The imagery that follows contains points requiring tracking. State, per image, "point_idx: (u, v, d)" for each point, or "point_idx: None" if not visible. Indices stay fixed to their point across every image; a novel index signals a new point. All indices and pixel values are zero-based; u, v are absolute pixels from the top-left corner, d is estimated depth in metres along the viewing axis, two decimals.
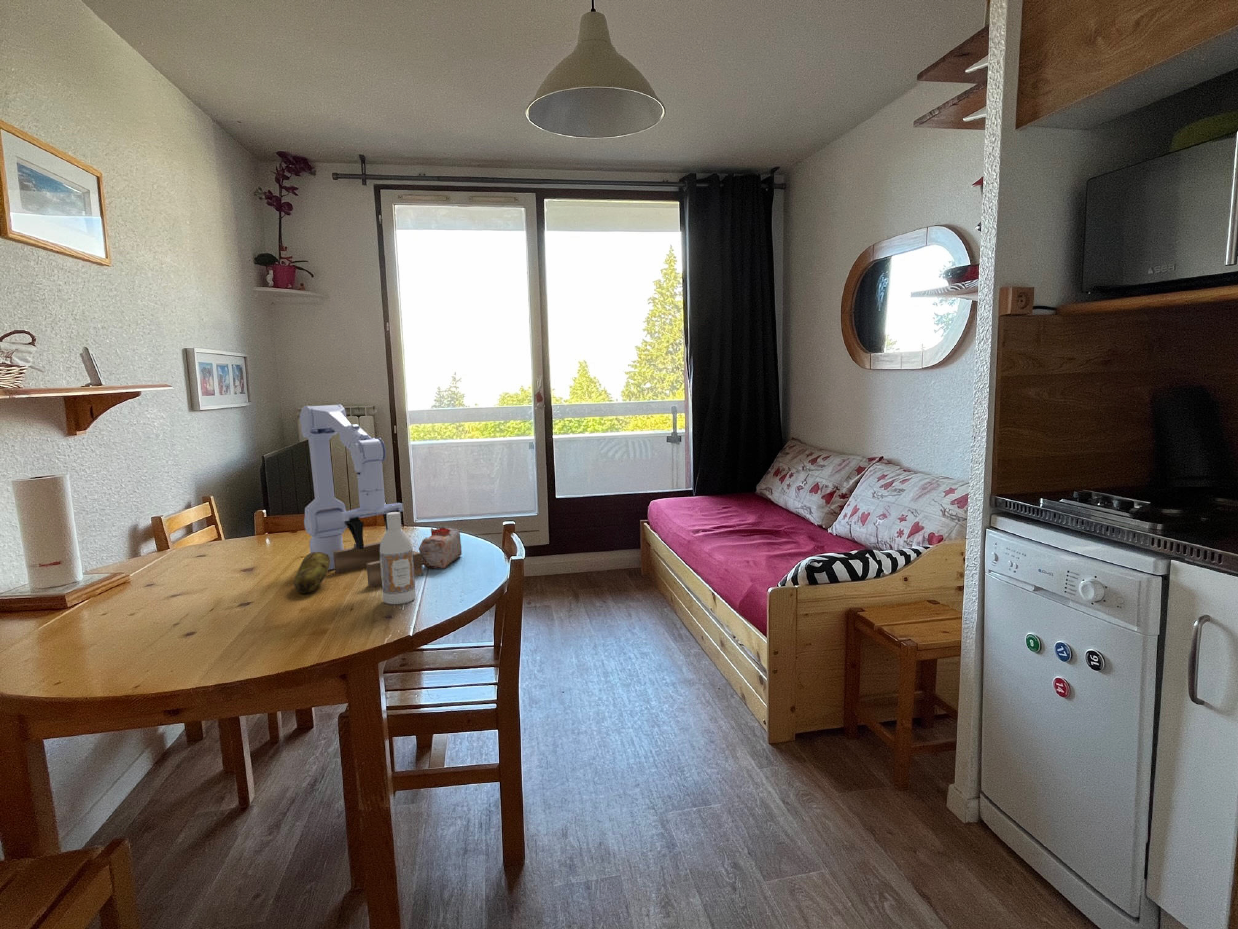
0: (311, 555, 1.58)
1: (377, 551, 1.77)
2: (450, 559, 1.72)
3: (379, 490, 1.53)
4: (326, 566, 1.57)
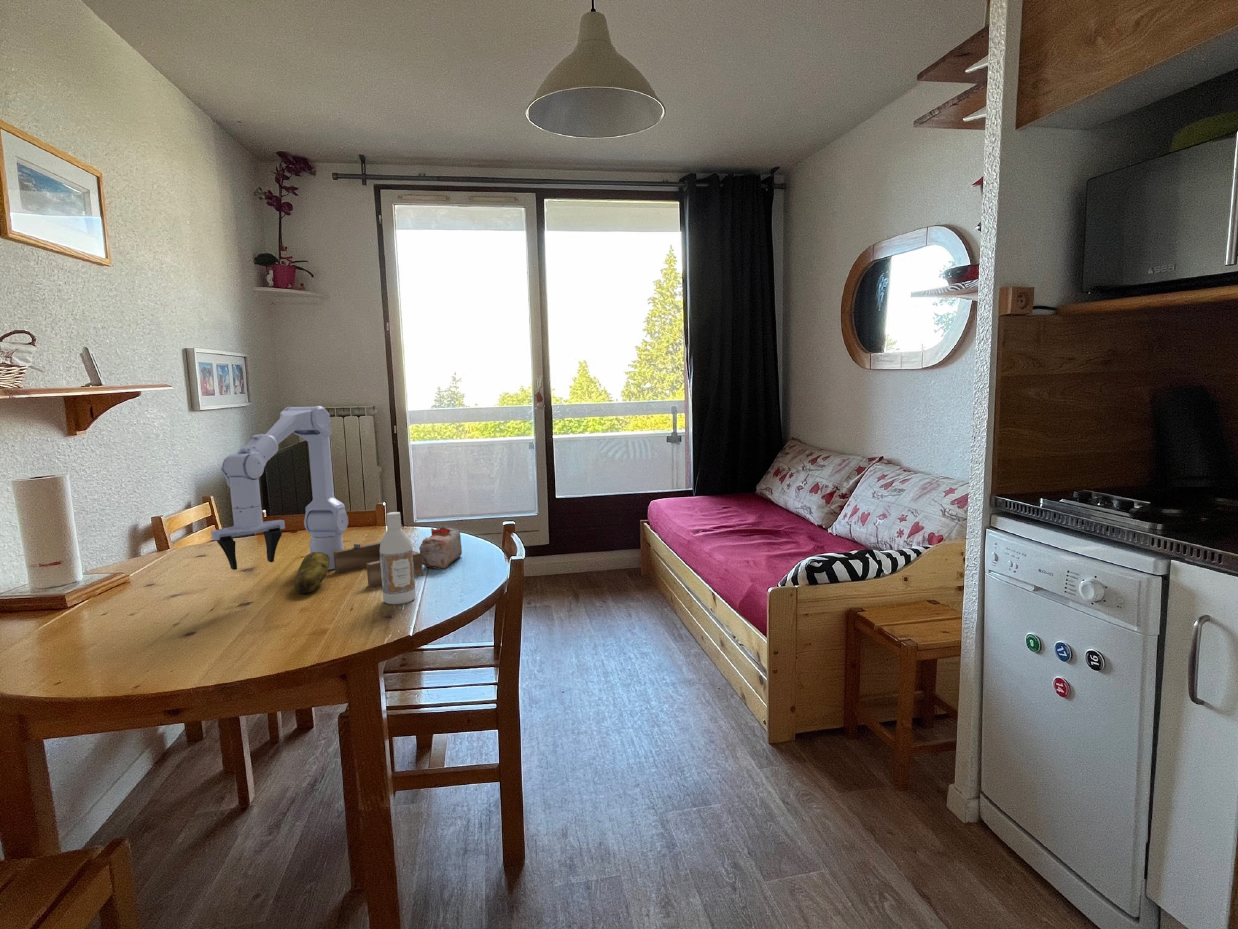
0: (311, 555, 1.58)
1: (377, 551, 1.77)
2: (450, 559, 1.73)
3: (254, 507, 1.44)
4: (326, 566, 1.57)
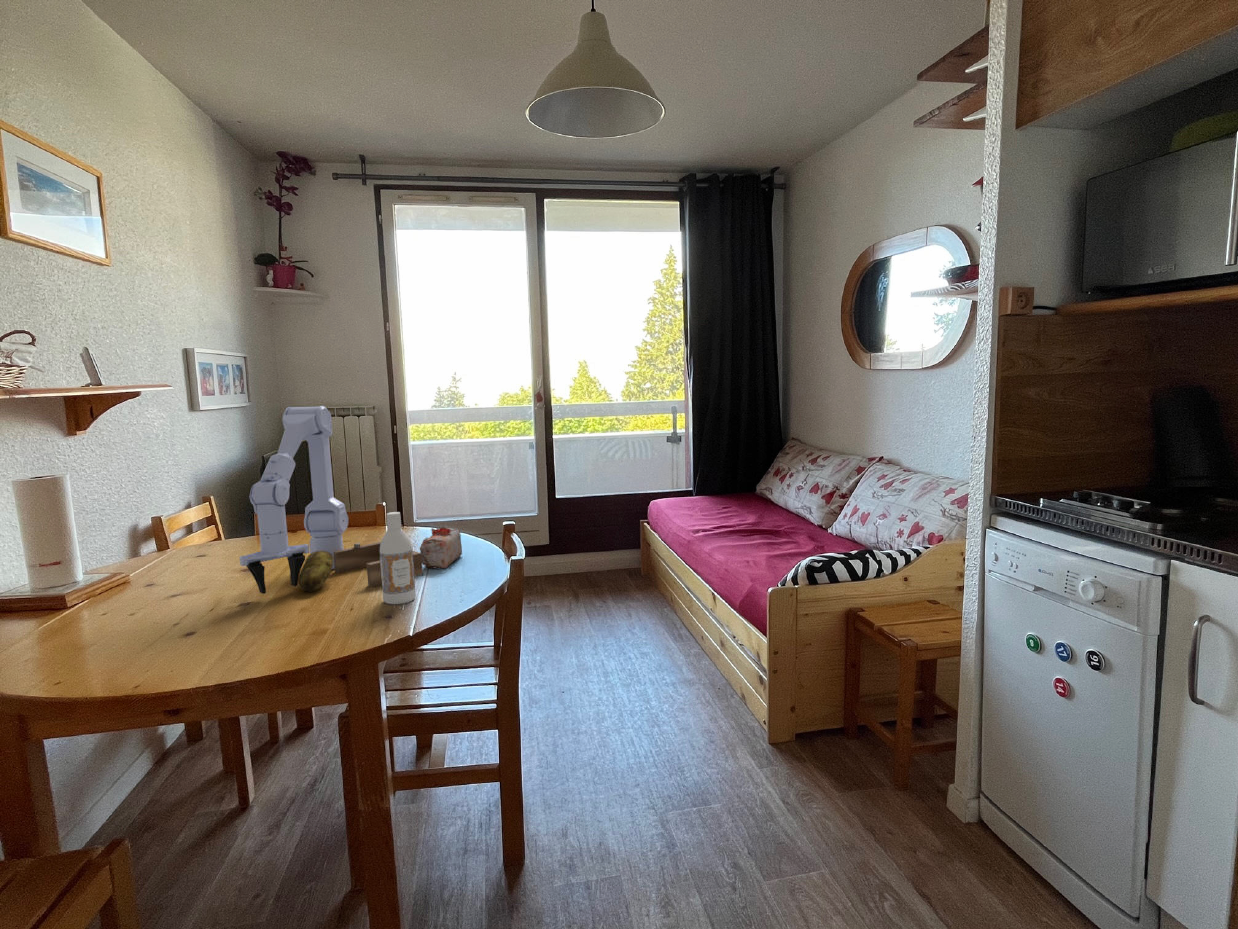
0: (315, 554, 1.59)
1: (377, 551, 1.77)
2: (451, 559, 1.73)
3: (280, 533, 1.48)
4: (330, 565, 1.58)
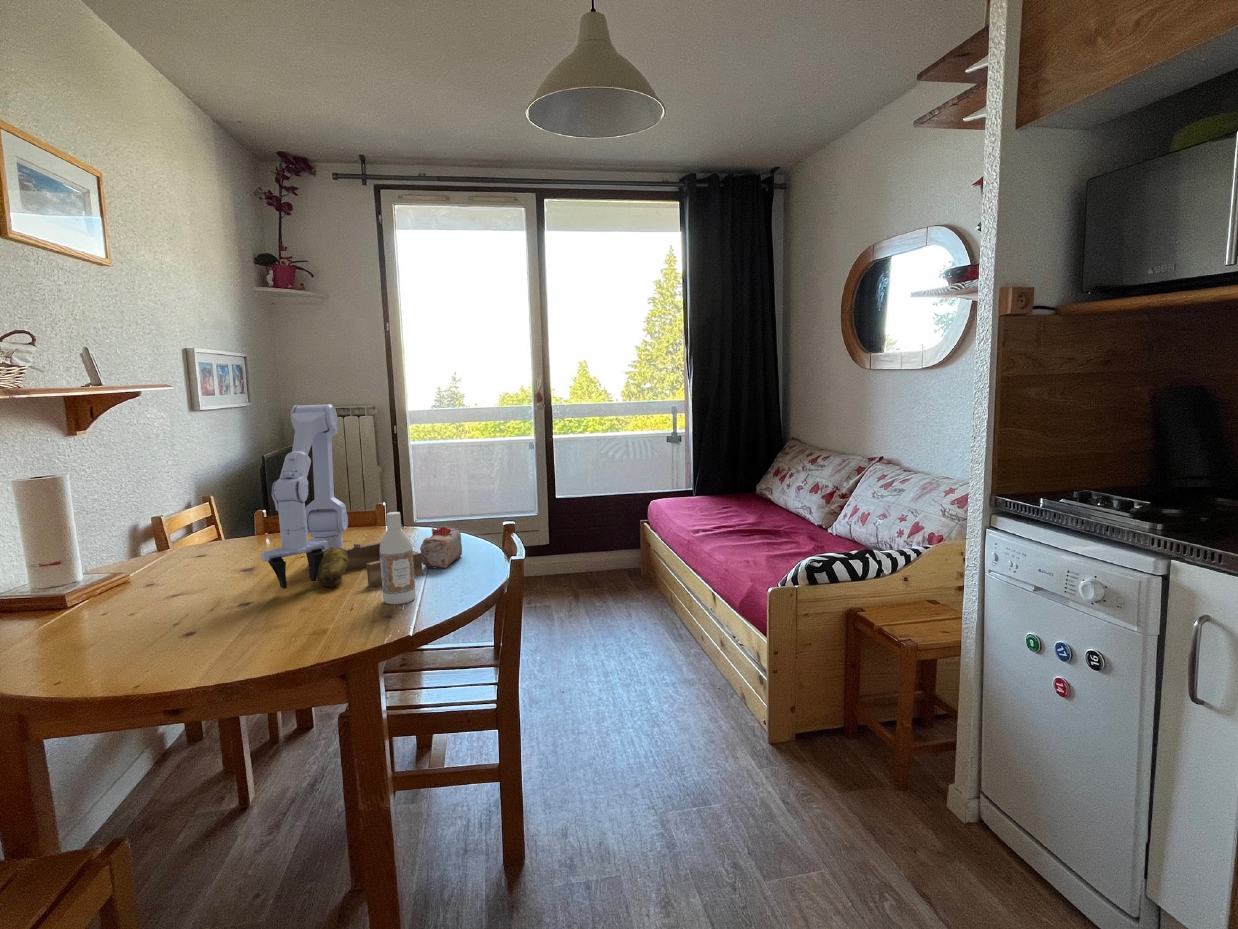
0: (331, 550, 1.62)
1: (377, 551, 1.77)
2: (451, 559, 1.73)
3: (301, 529, 1.52)
4: (347, 560, 1.62)
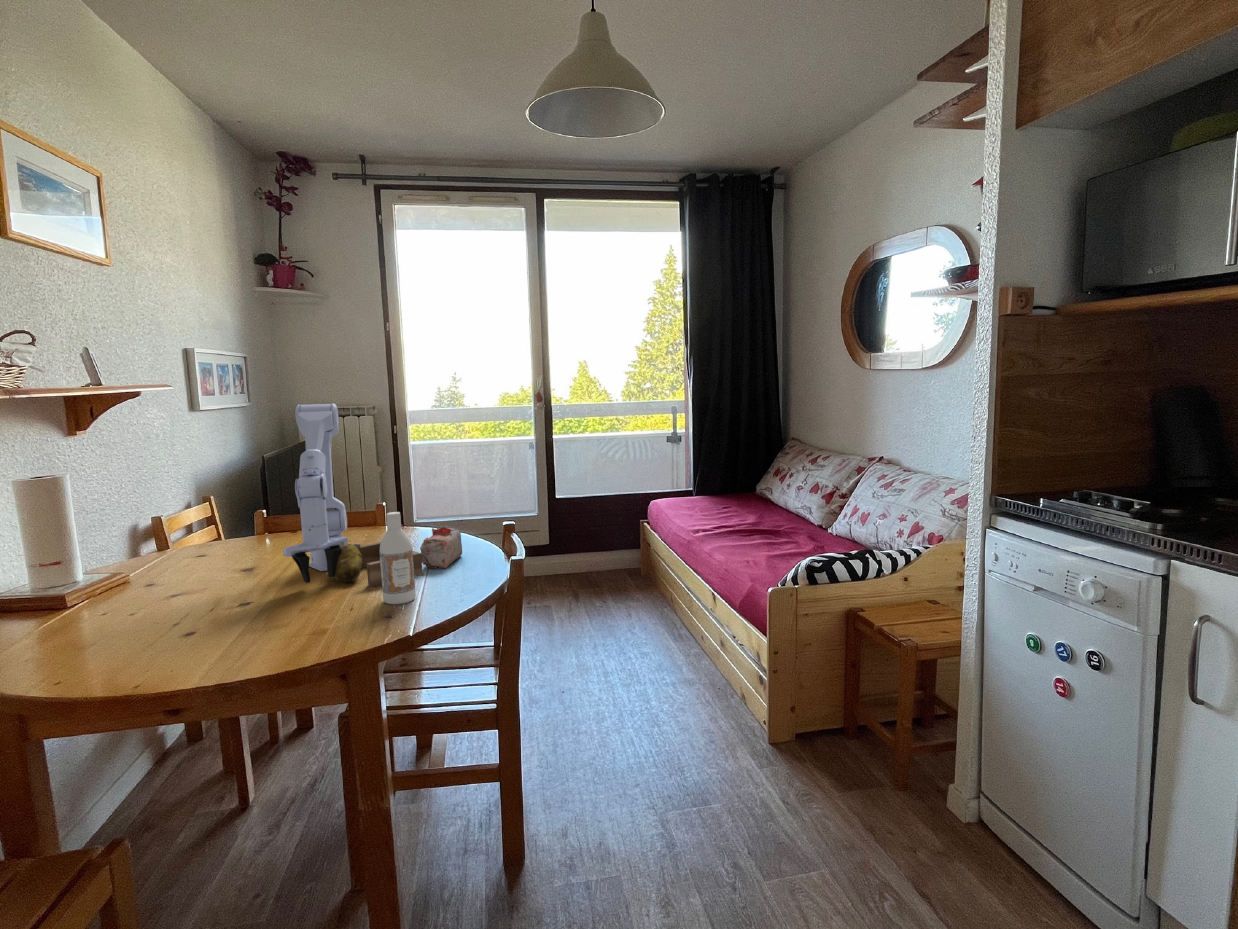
0: (344, 547, 1.65)
1: (377, 551, 1.77)
2: (451, 559, 1.73)
3: (322, 525, 1.55)
4: (361, 556, 1.66)
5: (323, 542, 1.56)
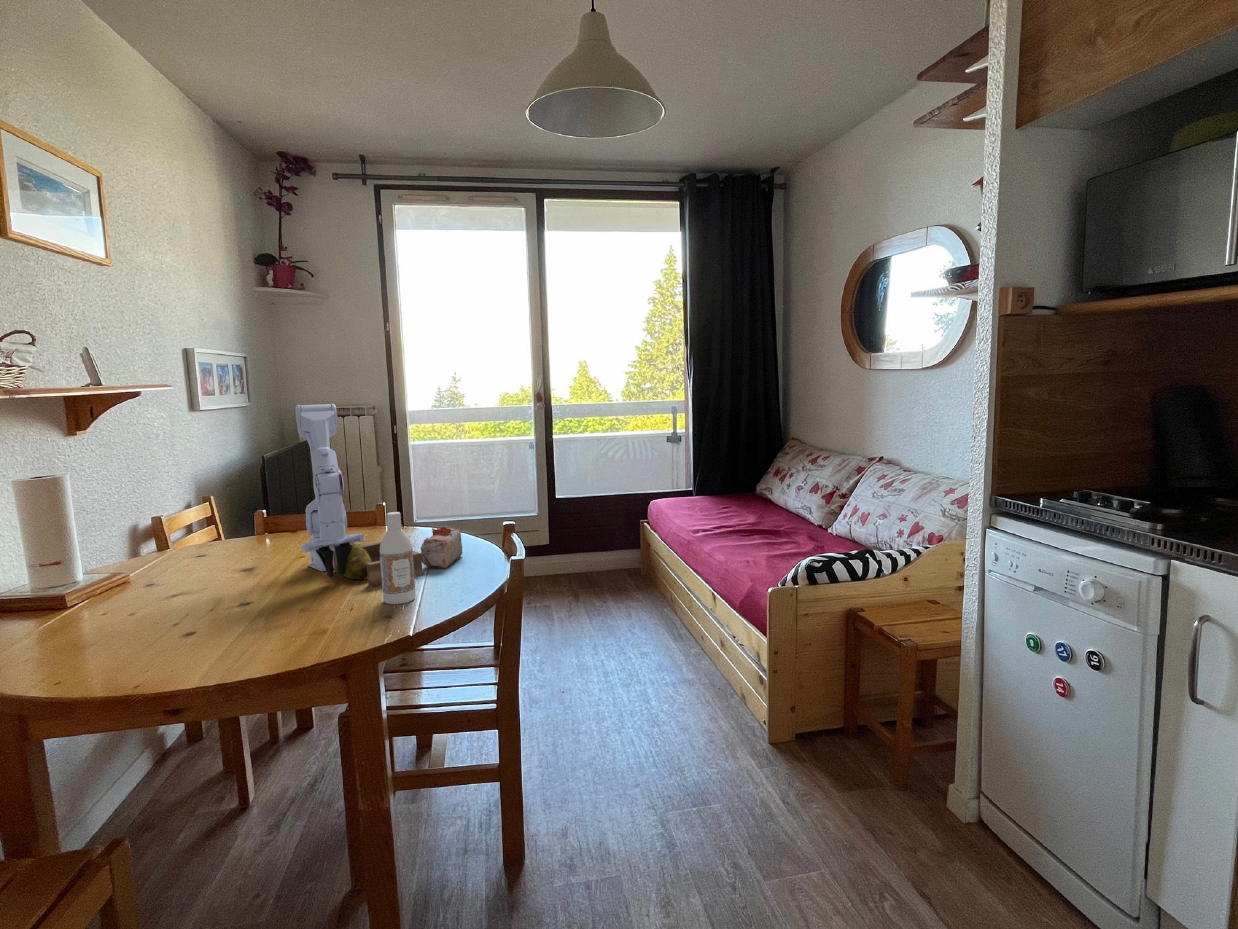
0: None
1: (377, 551, 1.77)
2: (452, 559, 1.73)
3: (339, 522, 1.58)
4: None
5: (340, 538, 1.58)
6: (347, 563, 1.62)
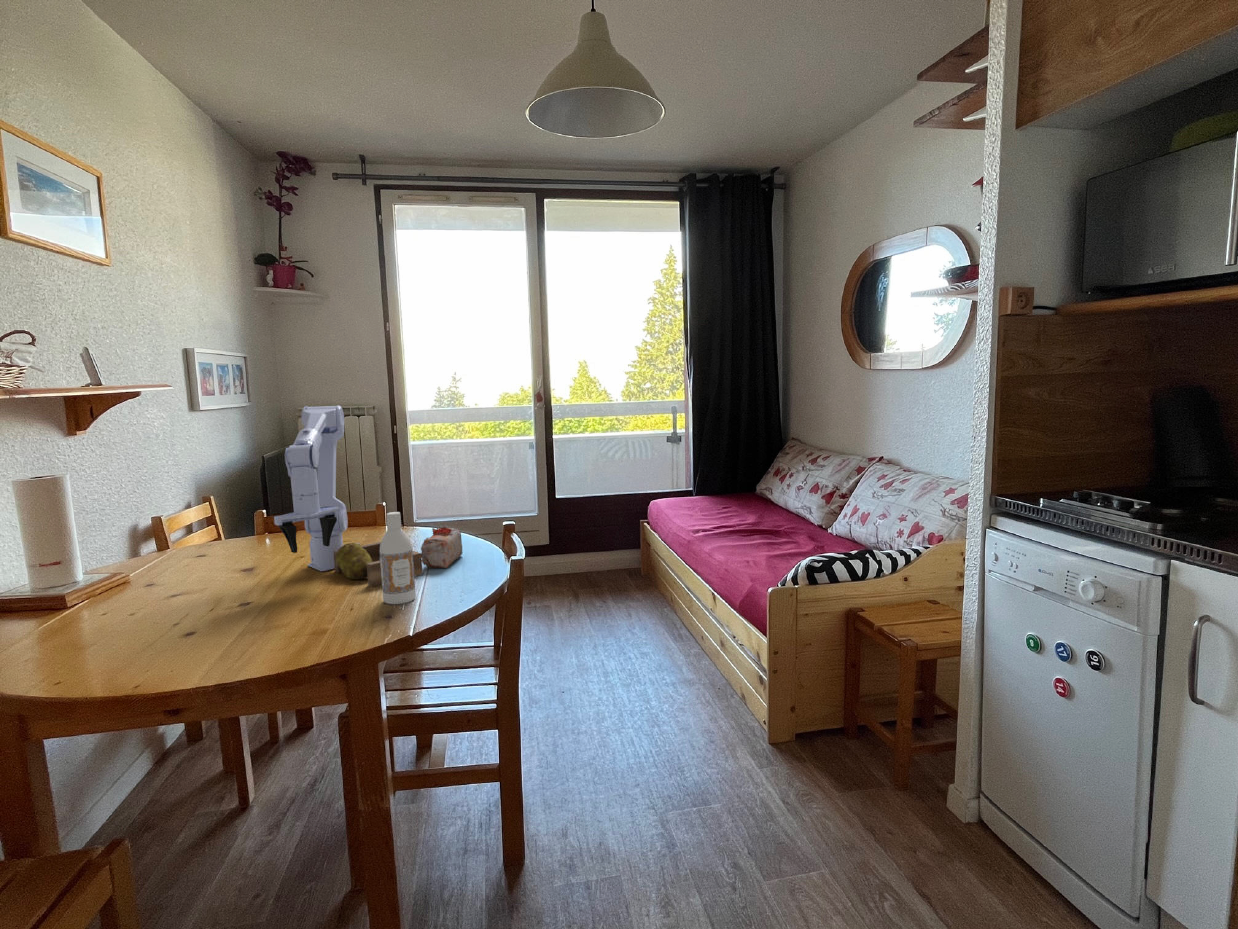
0: (350, 545, 1.66)
1: (377, 551, 1.77)
2: (452, 559, 1.73)
3: (313, 495, 1.55)
4: None
5: (314, 511, 1.55)
6: (348, 563, 1.62)
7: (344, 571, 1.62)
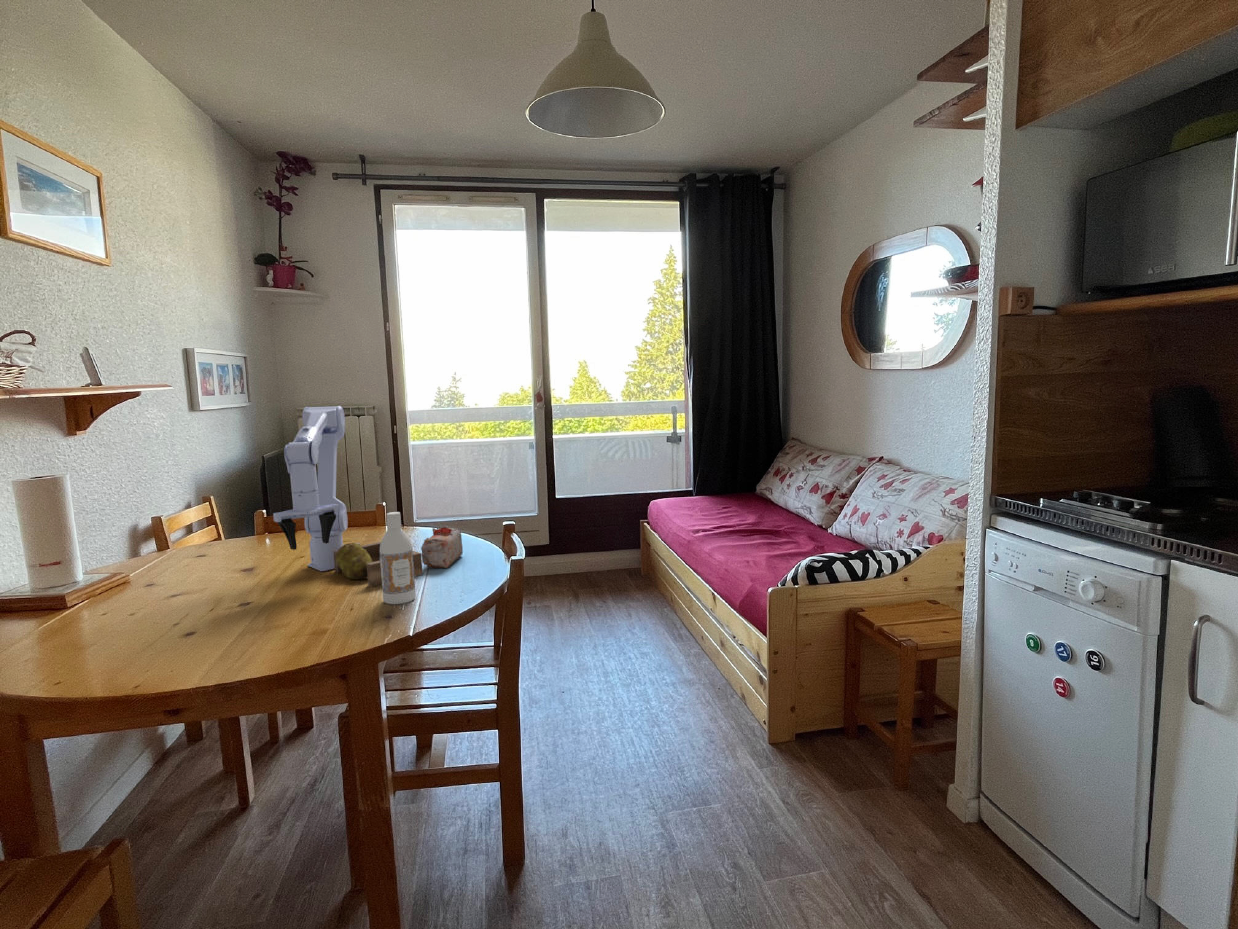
0: (350, 545, 1.66)
1: (377, 551, 1.77)
2: (452, 559, 1.73)
3: (312, 491, 1.55)
4: None
5: (313, 508, 1.55)
6: (348, 563, 1.62)
7: (344, 571, 1.62)
